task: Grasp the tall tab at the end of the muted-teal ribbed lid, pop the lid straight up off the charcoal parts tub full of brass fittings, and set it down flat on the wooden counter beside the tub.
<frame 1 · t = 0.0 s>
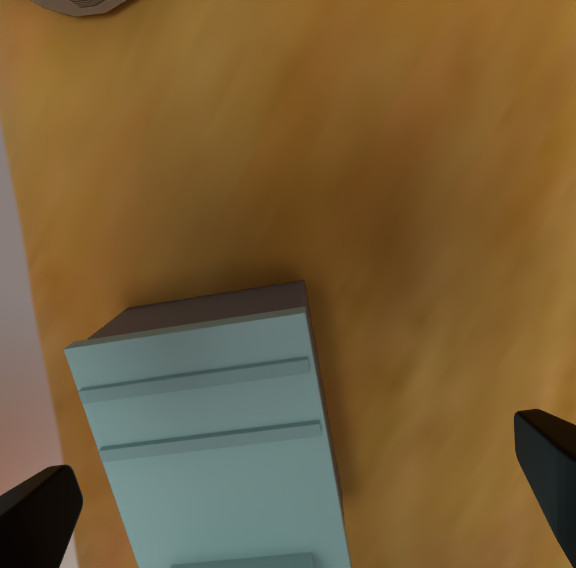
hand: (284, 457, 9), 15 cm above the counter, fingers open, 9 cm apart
tub: (240, 407, 25), on the counter
lid: (222, 465, 20), point 5 cm above the counter, touching tub
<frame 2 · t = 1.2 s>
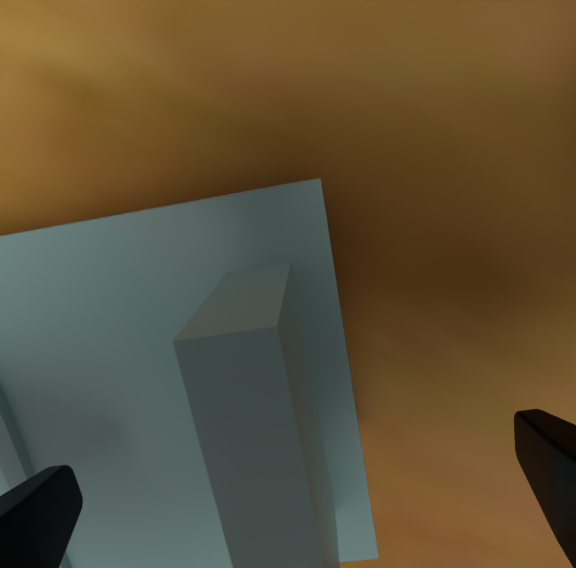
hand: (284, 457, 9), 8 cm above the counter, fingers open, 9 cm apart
lid: (94, 411, 12), point 5 cm above the counter, touching tub
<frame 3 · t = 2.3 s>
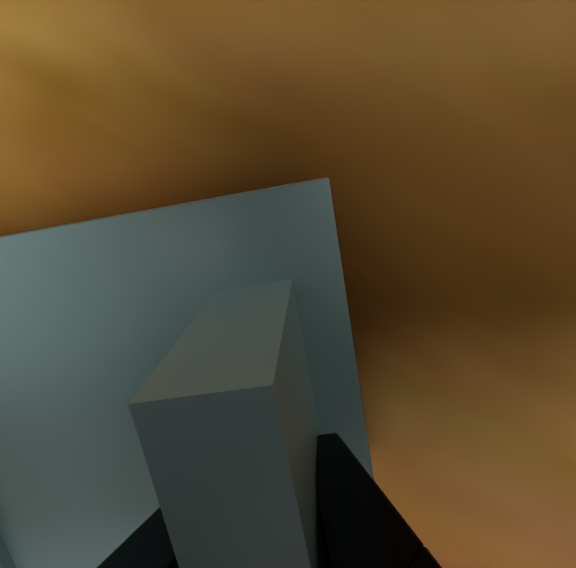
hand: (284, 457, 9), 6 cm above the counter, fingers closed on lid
lid: (65, 447, 10), point 5 cm above the counter, touching gripper, tub
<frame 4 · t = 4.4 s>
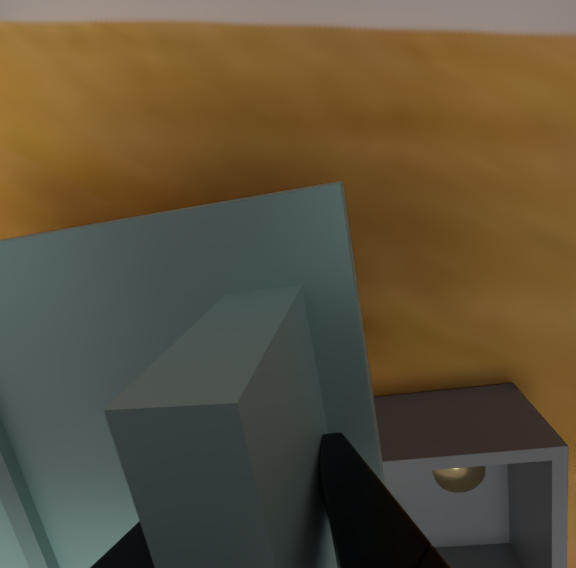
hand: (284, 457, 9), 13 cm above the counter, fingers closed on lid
brass parts: (383, 485, 23), point 1 cm above the counter, touching tub
tub: (382, 477, 24), on the counter
lid: (93, 432, 11), point 11 cm above the counter, tilted 7°, touching gripper
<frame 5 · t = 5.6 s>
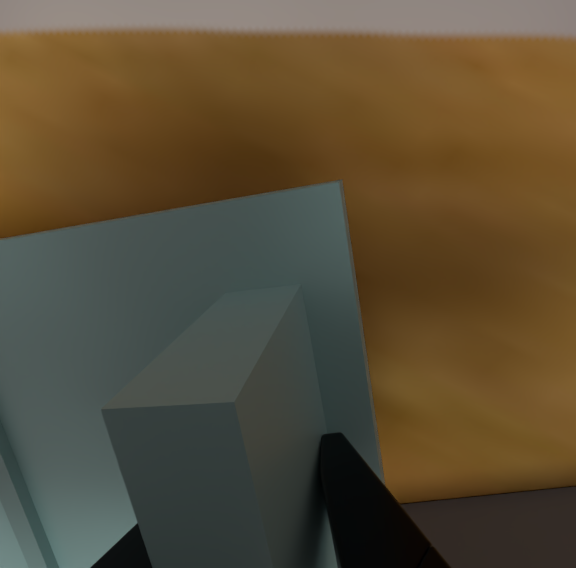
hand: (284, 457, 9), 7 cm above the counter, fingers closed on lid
lid: (92, 432, 11), point 5 cm above the counter, tilted 8°, touching gripper
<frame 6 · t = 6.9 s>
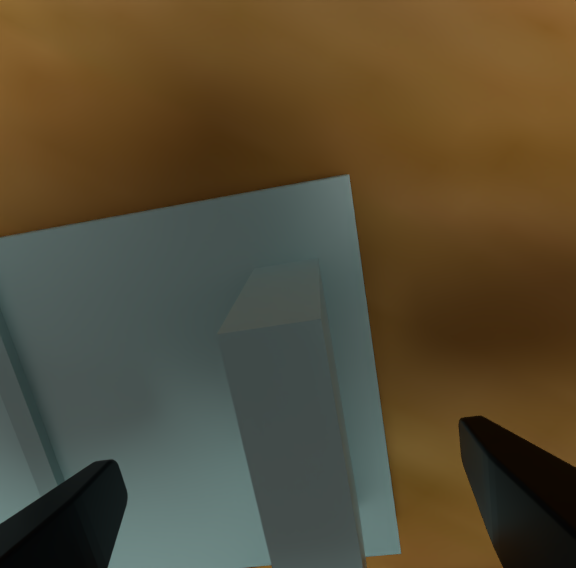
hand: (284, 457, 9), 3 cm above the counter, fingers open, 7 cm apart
lid: (118, 406, 12), on the counter
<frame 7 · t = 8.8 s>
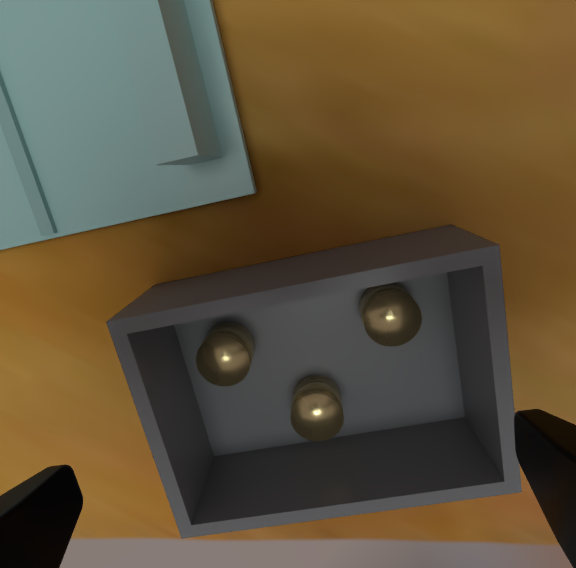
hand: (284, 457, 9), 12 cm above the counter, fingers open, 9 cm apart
brass parts: (318, 358, 20), point 1 cm above the counter, touching tub
tub: (318, 353, 21), on the counter
lid: (64, 106, 18), on the counter
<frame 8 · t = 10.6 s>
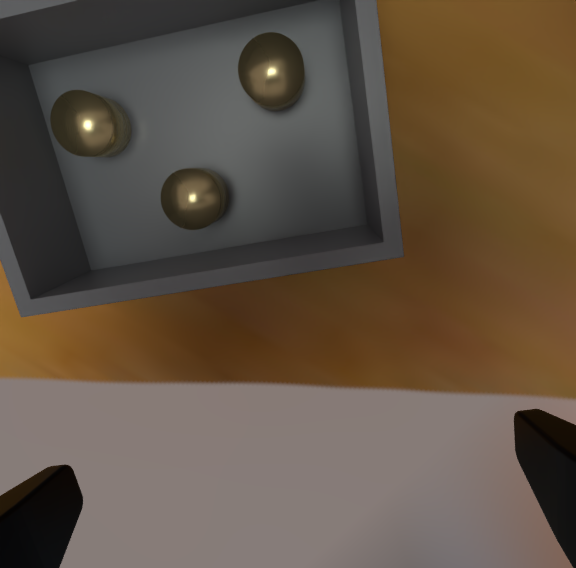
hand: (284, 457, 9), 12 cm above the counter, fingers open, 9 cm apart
brass parts: (202, 146, 18), point 1 cm above the counter, touching tub
tub: (206, 147, 19), on the counter
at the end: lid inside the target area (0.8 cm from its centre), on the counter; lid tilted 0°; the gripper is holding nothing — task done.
